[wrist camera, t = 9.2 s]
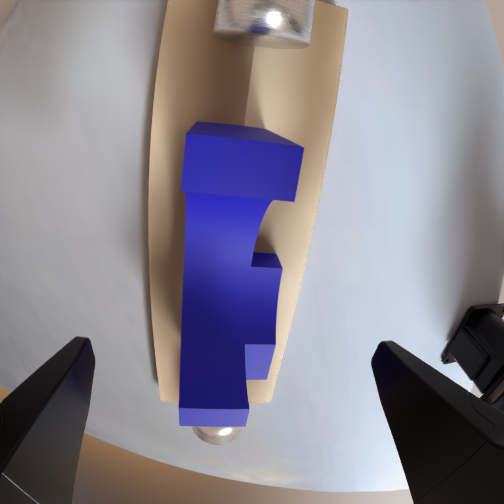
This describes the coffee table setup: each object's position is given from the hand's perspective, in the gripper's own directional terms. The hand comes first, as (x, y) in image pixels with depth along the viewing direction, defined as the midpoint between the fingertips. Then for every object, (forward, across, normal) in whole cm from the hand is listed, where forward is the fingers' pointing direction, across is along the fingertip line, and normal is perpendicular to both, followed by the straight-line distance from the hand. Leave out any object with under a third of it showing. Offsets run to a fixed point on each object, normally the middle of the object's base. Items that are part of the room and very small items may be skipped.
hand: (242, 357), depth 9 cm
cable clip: (+8, 0, 0) cm, 8 cm away
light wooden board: (+9, 0, 0) cm, 9 cm away
